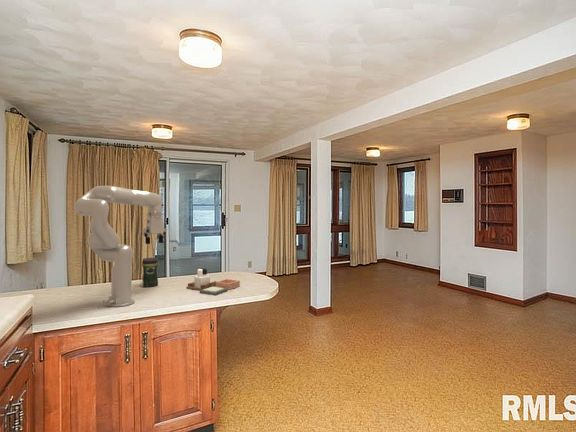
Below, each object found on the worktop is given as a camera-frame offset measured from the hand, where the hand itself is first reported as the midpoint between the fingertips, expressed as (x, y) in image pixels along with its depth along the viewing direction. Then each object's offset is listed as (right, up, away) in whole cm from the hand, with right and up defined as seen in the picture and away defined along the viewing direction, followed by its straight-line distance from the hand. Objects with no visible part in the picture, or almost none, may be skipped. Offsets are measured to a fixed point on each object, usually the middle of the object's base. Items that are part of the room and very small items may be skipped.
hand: (154, 243), depth 203 cm
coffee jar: (-10, -30, +17) cm, 35 cm away
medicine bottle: (+25, -30, +15) cm, 42 cm away
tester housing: (+36, -30, +2) cm, 47 cm away
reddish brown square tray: (+42, -30, +14) cm, 53 cm away
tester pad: (+36, -29, +2) cm, 46 cm away
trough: (+25, -30, +15) cm, 42 cm away
